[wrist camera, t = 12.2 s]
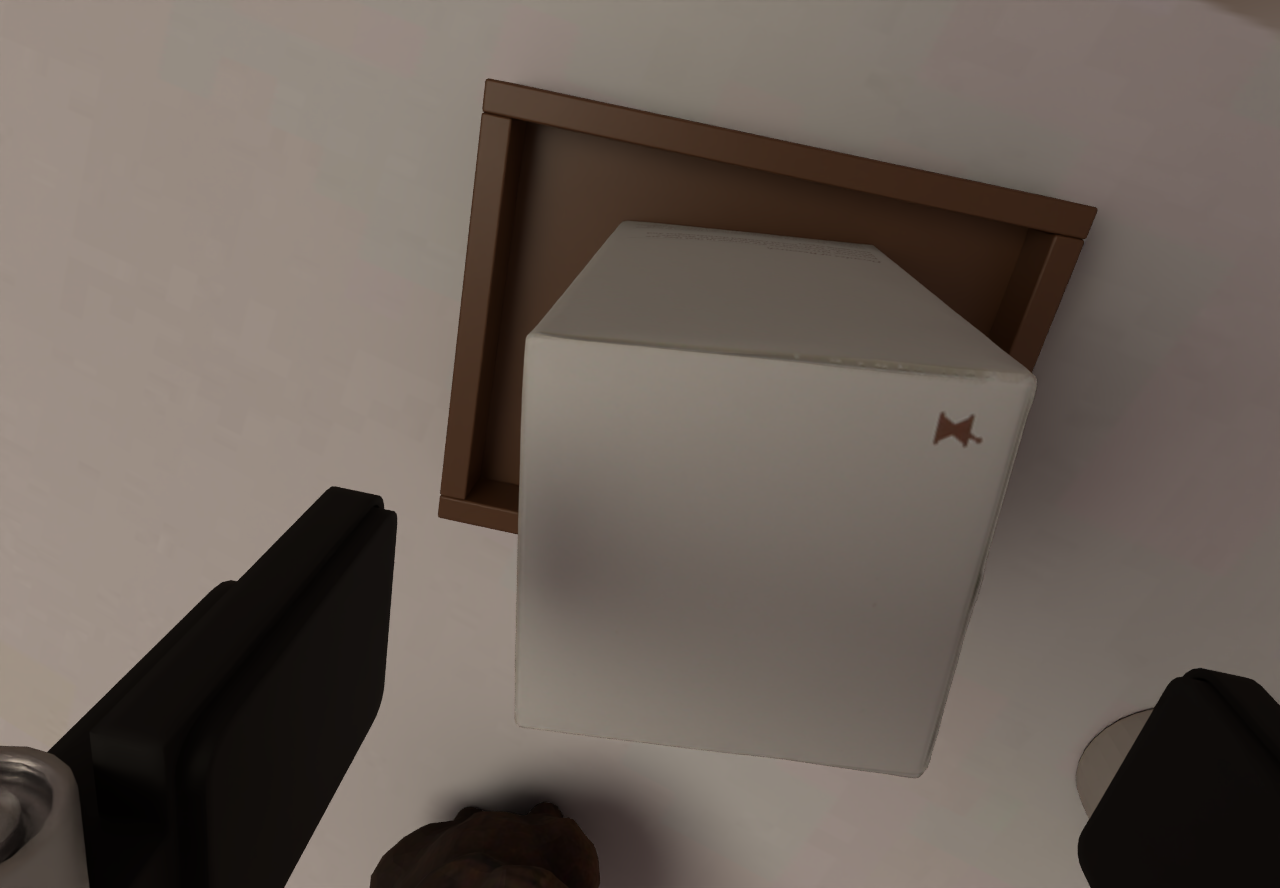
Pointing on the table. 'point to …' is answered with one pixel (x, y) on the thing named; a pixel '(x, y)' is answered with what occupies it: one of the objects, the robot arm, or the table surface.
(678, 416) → the white packaging box
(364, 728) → the robot arm
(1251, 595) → the table surface
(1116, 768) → the coffee cup
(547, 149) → the tray
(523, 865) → the sculpture
